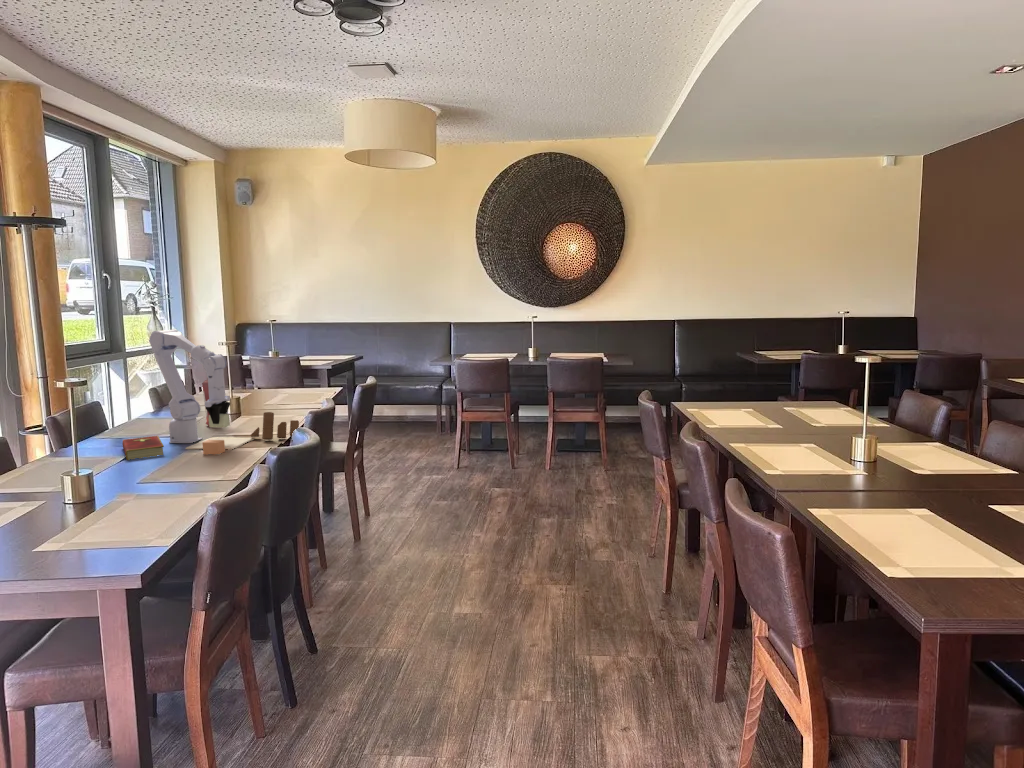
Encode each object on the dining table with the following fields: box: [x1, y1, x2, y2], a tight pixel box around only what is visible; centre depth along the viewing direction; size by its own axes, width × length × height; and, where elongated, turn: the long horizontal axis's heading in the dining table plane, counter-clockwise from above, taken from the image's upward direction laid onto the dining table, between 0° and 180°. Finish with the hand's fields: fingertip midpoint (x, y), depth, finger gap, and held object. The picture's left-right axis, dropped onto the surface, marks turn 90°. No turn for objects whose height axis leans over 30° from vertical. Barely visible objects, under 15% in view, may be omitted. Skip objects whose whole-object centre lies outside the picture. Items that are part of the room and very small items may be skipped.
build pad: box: [185, 436, 256, 451], centre depth 264 cm, size 18×18×1 cm
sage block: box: [208, 413, 231, 429], centre depth 262 cm, size 6×4×4 cm, turn 83°
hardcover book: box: [122, 435, 165, 461], centre depth 252 cm, size 12×21×4 cm, turn 32°
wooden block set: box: [249, 411, 300, 441], centre depth 271 cm, size 18×9×10 cm, turn 103°
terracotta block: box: [202, 440, 226, 455], centre depth 249 cm, size 6×4×4 cm, turn 84°
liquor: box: [201, 375, 210, 427], centre depth 298 cm, size 7×7×28 cm
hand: (219, 422), depth 262 cm, fingers closed on sage block, 4 cm apart
